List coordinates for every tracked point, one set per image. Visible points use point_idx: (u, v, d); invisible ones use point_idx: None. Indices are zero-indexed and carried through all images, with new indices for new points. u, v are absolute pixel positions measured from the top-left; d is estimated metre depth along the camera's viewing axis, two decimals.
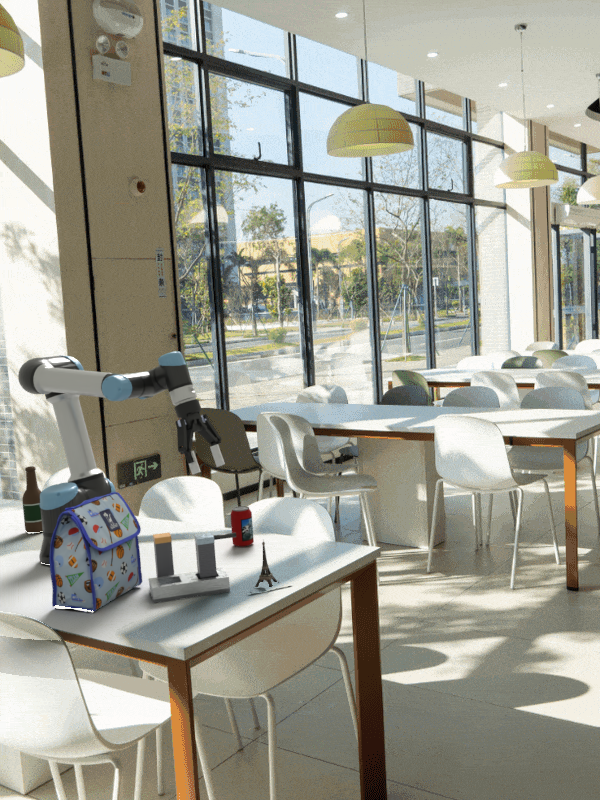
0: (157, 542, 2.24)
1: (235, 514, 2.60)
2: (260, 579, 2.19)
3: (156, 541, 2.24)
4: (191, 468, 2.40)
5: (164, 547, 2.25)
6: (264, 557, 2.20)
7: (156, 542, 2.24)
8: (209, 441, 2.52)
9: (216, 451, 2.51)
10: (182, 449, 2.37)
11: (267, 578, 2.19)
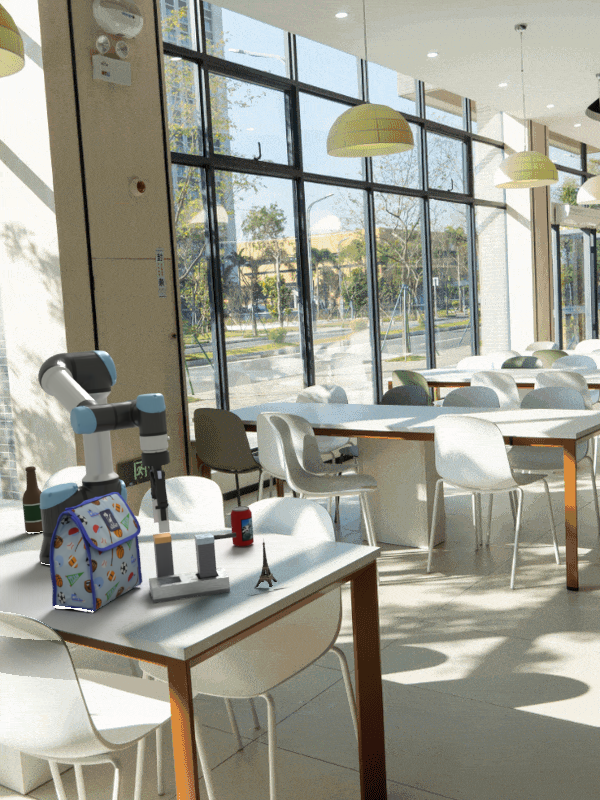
0: (157, 542, 2.24)
1: (235, 514, 2.60)
2: (260, 579, 2.19)
3: (156, 541, 2.24)
4: (160, 526, 2.19)
5: (164, 547, 2.25)
6: (264, 557, 2.20)
7: (156, 542, 2.24)
8: (154, 494, 2.32)
9: None
10: (164, 505, 2.16)
11: (267, 578, 2.19)
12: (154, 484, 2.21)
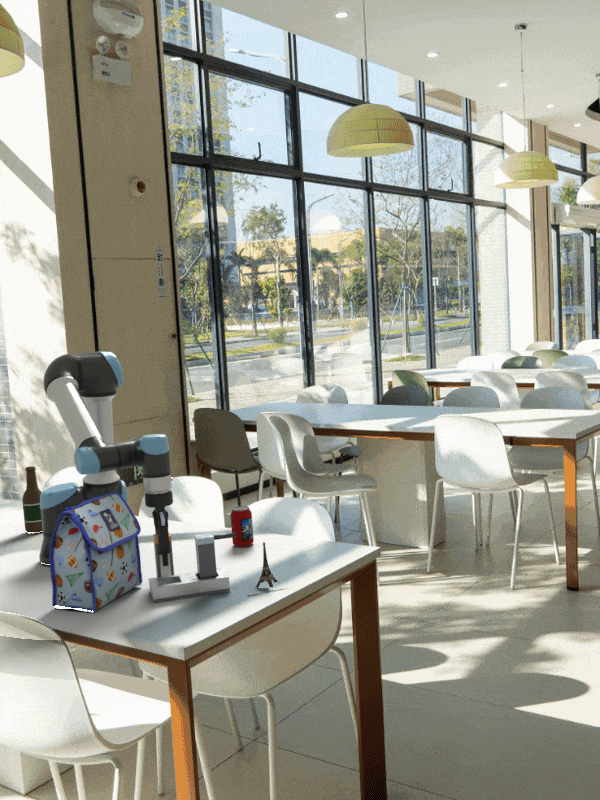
0: (157, 542, 2.24)
1: (235, 514, 2.60)
2: (261, 580, 2.19)
3: (156, 541, 2.24)
4: (162, 571, 2.25)
5: None
6: (265, 558, 2.19)
7: (156, 542, 2.24)
8: None
9: None
10: (166, 551, 2.22)
11: (268, 579, 2.18)
12: (157, 528, 2.24)
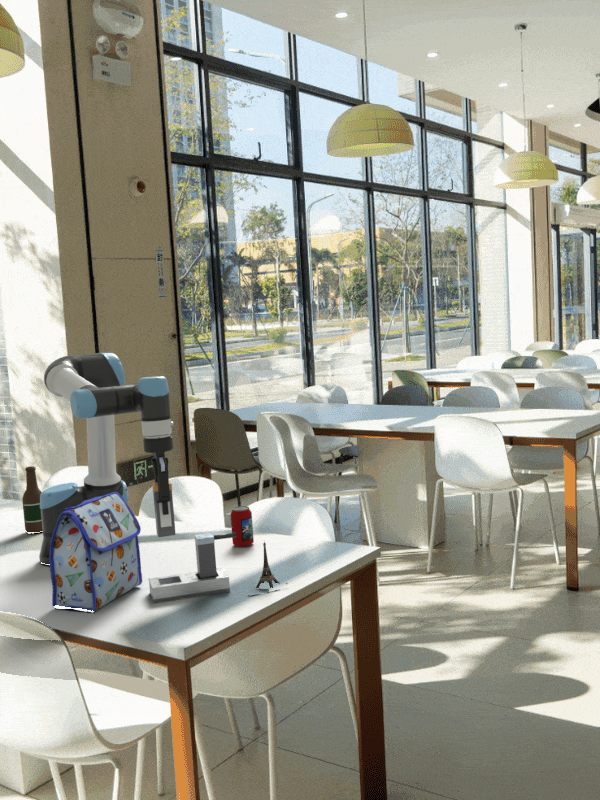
0: (157, 489, 2.13)
1: (235, 514, 2.60)
2: (261, 580, 2.19)
3: (155, 488, 2.13)
4: (162, 520, 2.13)
5: None
6: (265, 558, 2.19)
7: (155, 489, 2.13)
8: None
9: None
10: (166, 499, 2.10)
11: (268, 579, 2.18)
12: (156, 474, 2.12)
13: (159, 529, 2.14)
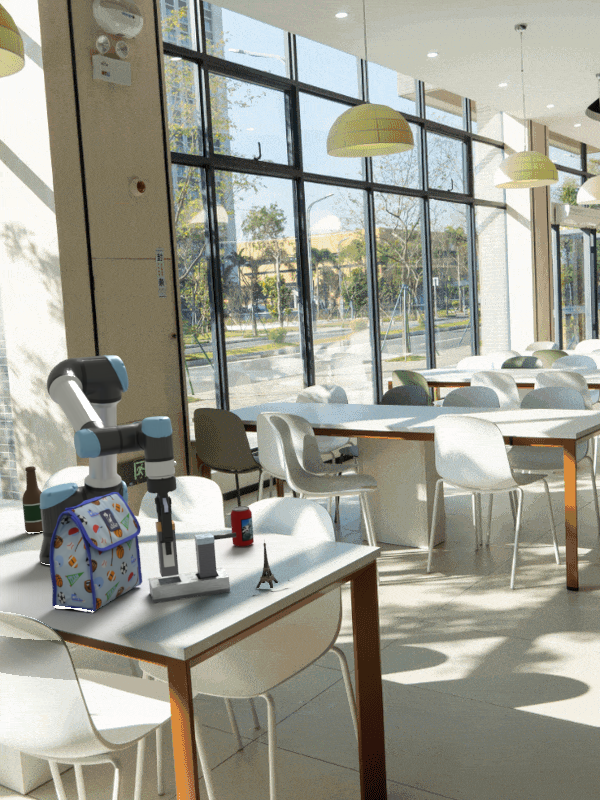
0: (160, 530, 2.13)
1: (235, 514, 2.60)
2: (261, 580, 2.19)
3: (159, 529, 2.13)
4: (165, 560, 2.14)
5: None
6: (265, 558, 2.19)
7: (159, 530, 2.13)
8: None
9: None
10: (169, 539, 2.11)
11: (268, 579, 2.18)
12: (160, 515, 2.13)
13: (162, 569, 2.14)
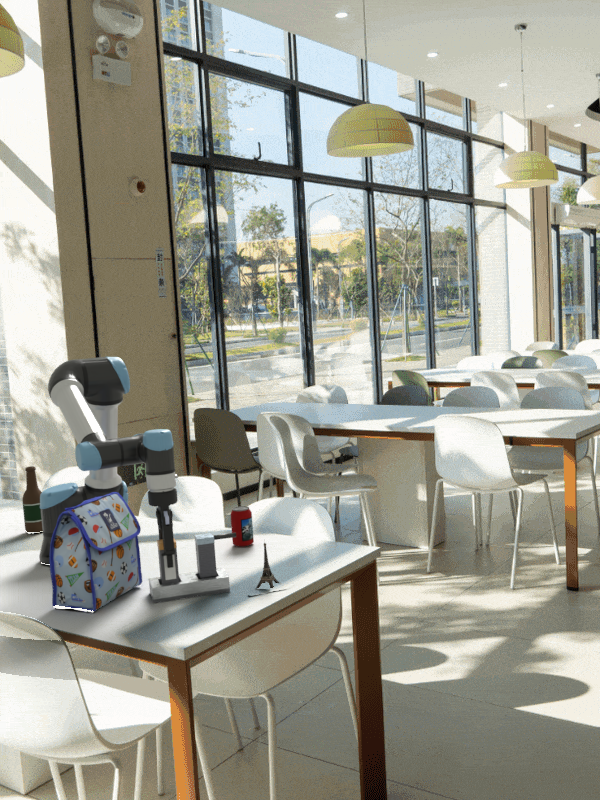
0: (161, 548, 2.14)
1: (235, 514, 2.60)
2: (261, 580, 2.18)
3: (160, 547, 2.14)
4: (167, 573, 2.13)
5: None
6: (265, 558, 2.19)
7: (160, 548, 2.14)
8: None
9: None
10: (171, 552, 2.10)
11: (268, 579, 2.18)
12: (161, 527, 2.13)
13: None
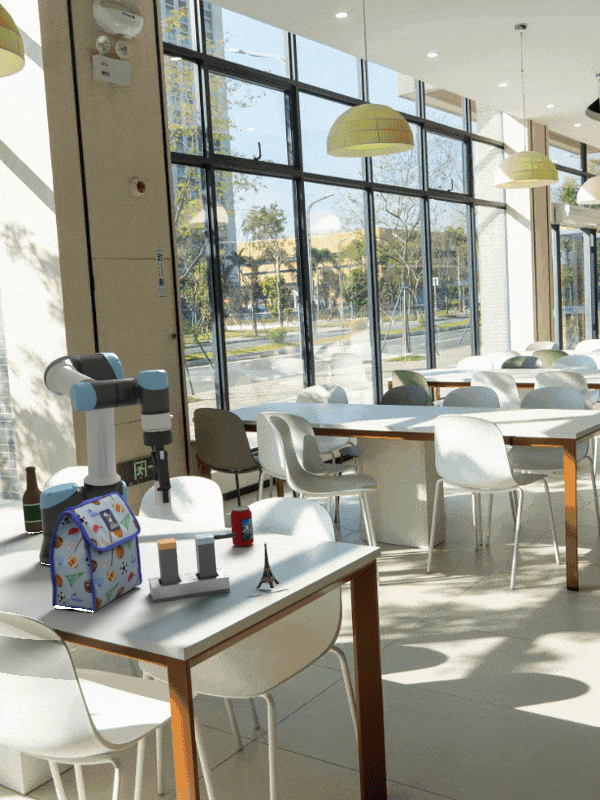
0: (161, 548, 2.14)
1: (235, 514, 2.60)
2: (262, 581, 2.18)
3: (160, 547, 2.14)
4: (162, 508, 2.09)
5: (169, 553, 2.14)
6: (266, 559, 2.18)
7: (160, 548, 2.14)
8: (156, 475, 2.21)
9: None
10: (167, 487, 2.06)
11: (269, 580, 2.17)
12: (156, 465, 2.11)
13: None
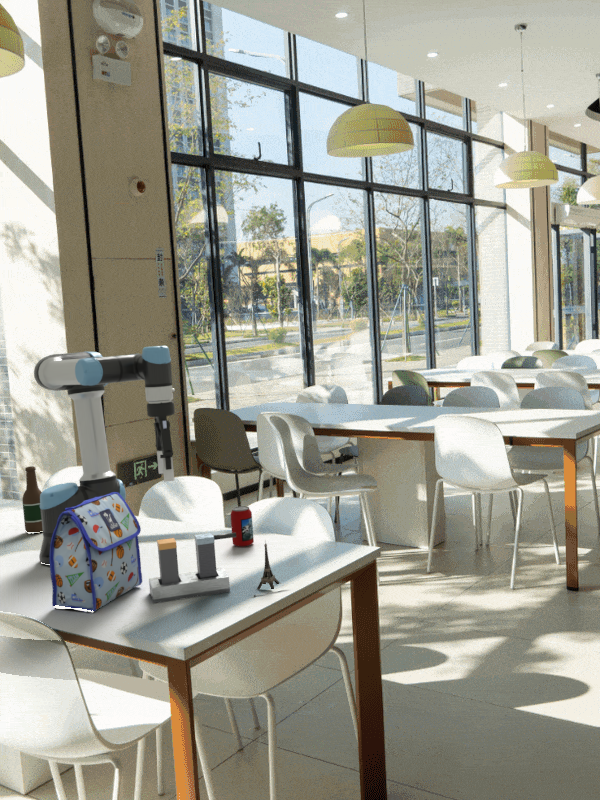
0: (161, 548, 2.14)
1: (235, 514, 2.60)
2: (262, 581, 2.18)
3: (160, 547, 2.14)
4: (165, 474, 2.24)
5: (169, 553, 2.14)
6: (266, 559, 2.18)
7: (160, 548, 2.14)
8: (159, 445, 2.36)
9: None
10: (169, 454, 2.21)
11: (269, 580, 2.17)
12: (159, 434, 2.26)
13: None
